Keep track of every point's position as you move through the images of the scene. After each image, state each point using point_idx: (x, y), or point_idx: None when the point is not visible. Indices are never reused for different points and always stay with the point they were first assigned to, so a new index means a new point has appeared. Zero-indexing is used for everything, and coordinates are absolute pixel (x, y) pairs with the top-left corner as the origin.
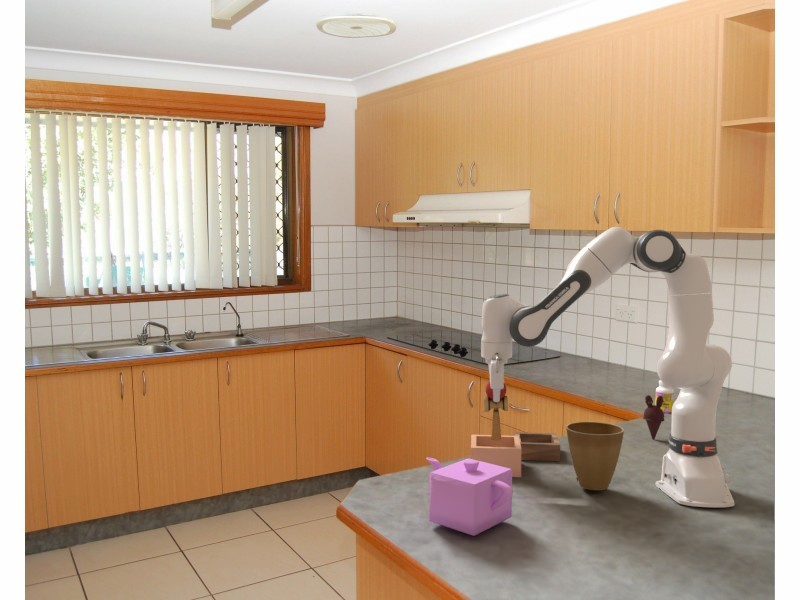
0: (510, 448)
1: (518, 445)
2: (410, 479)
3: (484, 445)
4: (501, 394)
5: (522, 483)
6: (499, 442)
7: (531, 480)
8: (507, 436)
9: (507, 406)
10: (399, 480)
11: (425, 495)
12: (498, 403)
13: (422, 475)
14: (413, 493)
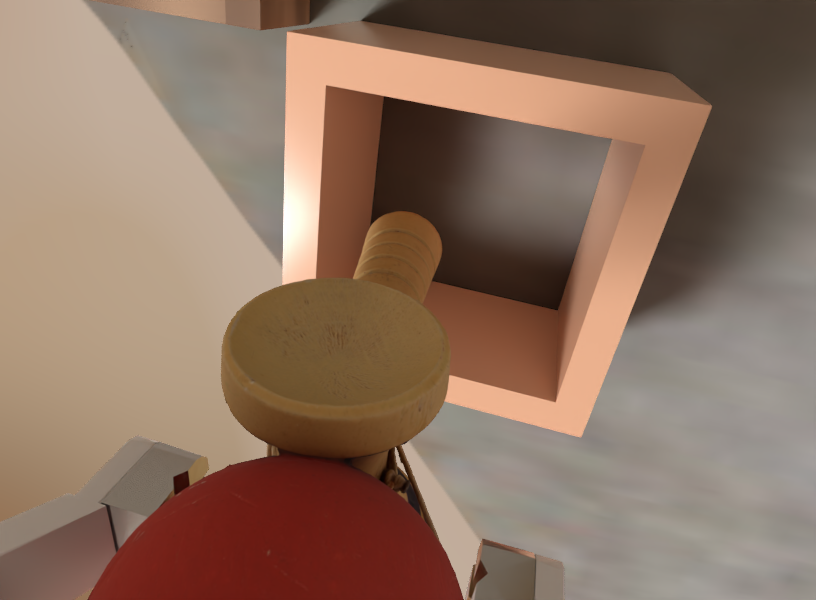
0: (665, 196)
1: (587, 105)
2: (583, 550)
3: (336, 266)
4: (460, 595)
5: (797, 92)
6: (335, 184)
7: (754, 11)
8: (310, 134)
9: (449, 348)
10: (588, 581)
11: (807, 558)
12: (387, 454)
13: (540, 506)
14: (763, 583)
